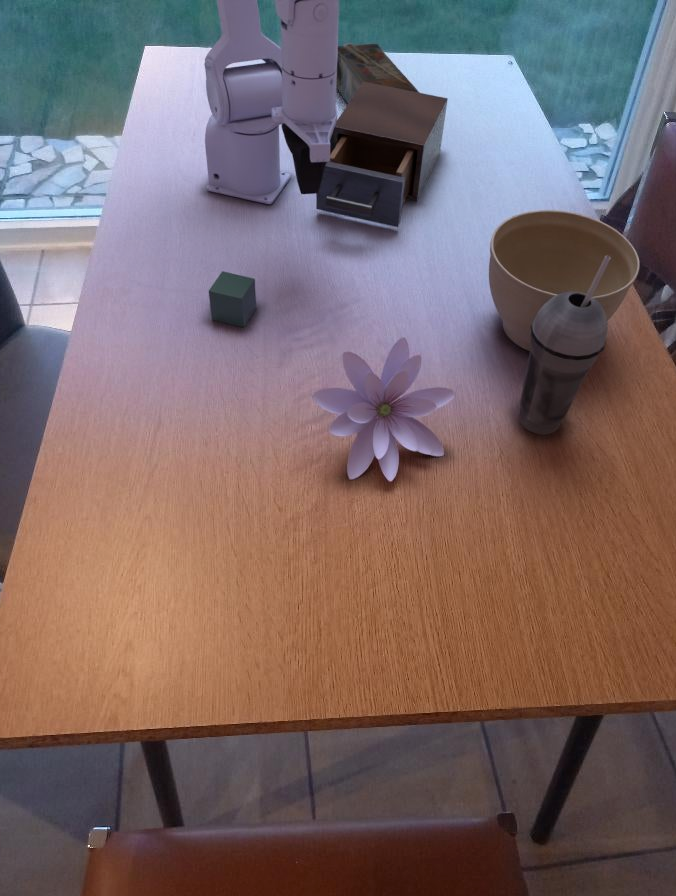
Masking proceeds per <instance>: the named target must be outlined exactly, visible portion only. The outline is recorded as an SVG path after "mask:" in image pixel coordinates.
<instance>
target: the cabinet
mask: <svg viewBox="0 0 676 896" xmlns="http://www.w3.org/2000/svg"><path fill="white" fill-rule="evenodd" d="M418 92H419V91H418ZM418 92H413V91H408V90H403V89H398V88H393V87H388V86H383V85H378V84H373V83H368V82H363V83H362V85H361V86H360V87H359V89H358V90H357V92H356V93H355V95H354V96H353V98H352V99H351V101H350V102H349V104H348V103H347V105H346V106H345V108H344V109H343V111H342V113H341V114H340V115H339V117H337V122H336V125H335V127H334V132H333V133H335V136H336V138H337V143H338V142H339V140H340V139H341V137H342V136H343V134H345V135H349V136H354V137H359V138H364V139H369V140H373V141H378V142H383V143H388V144H393V145H397V146H402V147H407V148H412V149H417V150H418V151H417V159H416V167H415V176H414V182H413V185H412V187H411V189H410V191H409V193H408V195H407V197H406V199H405V201H409V202H416V203H418V202H419V199H420V196H421V195H422V193H423V190H424V188H425V186H426V184H427V182H428V180H429V178H430V176H431V173H432V171H433V169H434V167H435V165H436V163H437V160H438V159H439V157H440V154H441V149H442V142H443V136H444V135H443V134H444V127H445V120H446V113H447V106H448V97H444V96H437V95H433V94H429V93H423V92H420V93H418ZM336 145H337V144H336Z"/></svg>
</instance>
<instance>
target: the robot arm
mask: <svg viewBox="0 0 676 896" xmlns="http://www.w3.org/2000/svg"><path fill="white" fill-rule="evenodd" d="M216 7H217V12H218V17H219V24H220V31H221V36H220V38H219V39H218V40H217V41H216V43H215V44H214V45H213V46H212V48H211V49H210V50H209V51H208V52H207V53H206V56H205V58H204V64H203V65H204V71H205V72H204V73H205V89H206V90H205V91H206V97H207V102H208V106H209V109H210V112H211V115H210V117H209V119H208V120H207V123H206V127H205V133H204V148H205V158H206V167H207V177H208V184H207V186H206V189H207V191H208V192H212V193H216V194H221V195H225V196H230V197H235V198H239V199H244V200H248V201H253V202H257V203H261V204H266V205H272V204H274V202H275V201H276V199H277V197H278V196H279V195H280V193H281V191H282V190H283V189H284V187H285V185H287V183H288V182H289V180H290V179H291V174H290V173H288V172H284V171H281V156H280V154H281V151H280V150H281V149H280V126H281V130H282V134H283V137H284V141H285V143H286V146H287V147H288V150H289V151H290V153H291V156H292V161H293V165H294V172H295V177H296V182H297V186H298V189H299V192H300V194H301V195H314V194H316V195H317V193H318V192H319V189H320V185H321V181H322V177H323V173H324V169H325V166H326V163H327V162H329V161H330V155H331V153H332V152H333V150H334V149H335V147H336V144H337V138H336V136H335V133H333V132H334V127H335V125H336V122H337V120H338V109H337V108H336V107H337V88H336V82H337V54H338V46H339V19H340V0H274V7H275V12H276V15H277V16H278V17H279V18H280V42H281V43H280V46H279V45H278V44H276V43H275V42H274V41H273V40H271V39H270V38H268V37H267V36H266V35H265V34H263V32H262V25H261V19H260V12H259V11H260V10H259V6H258V0H216ZM259 60H262V61H263V62H261V63H255V64H246V65H238V66H232V67H228V66H229V65H232V64H238V63H244V62H251V61H252V62H253V61H259Z"/></svg>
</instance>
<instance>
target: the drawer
mask: <svg viewBox="0 0 676 896" xmlns="http://www.w3.org/2000/svg"><path fill="white" fill-rule="evenodd" d="M417 151H418V150H417V149H412V148H407V147H402V146H397V145H393V144H388V143H383V142H378V141H373V140H369V139H364V138H359V137H354V136H349V135H345V134H343V136H342V137H341V139H340V140H339V142H338V143H337V145H336V147H335V149H334V150H333V152H332V153H331V155H330V161H329V162H327V163H326V166H325V169H324V173H323V177H322V181H321V185H320V189H319V192H318V193H317V194H316V197H315V198H316V199H315V201H316V202H315V203H316V204H315V206H316V207H315V208H316V210H319V211H324V212H328V213H333V214H336V215H340V216H341V215H342V216H346V217H350V218H355V219H360V220H363V221H368V222H373V223H376V224H381V225H382V224H383V225H386V226H391V227H395V228H399V226H400V224H401V220H402V219H401V218H402V210H403V204H404V203H405V201H406V200H405V199H406V197H407V195H408V193H409V191H410V189H411V187H412V185H413V182H414V176H415V167H416V159H417Z"/></svg>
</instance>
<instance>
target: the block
mask: <svg viewBox="0 0 676 896" xmlns="http://www.w3.org/2000/svg"><path fill="white" fill-rule="evenodd" d="M208 298H209V307H210V308H209V309H210V314H211V315H210V316H211V320H212V321H216V322H220V323H224V324H227V325H233V326H236V327H241V328H245V327H246V325H247V323H248V322H249V321H250V318H251V317H252V315H253V314H254V312H255V310H256V309H257V292H256V278H253V277H249V276H244V275H241V274H236V273H232V272H227V271H224V270H222V271H221V272H220V273H219V275H218V277H217V278H216V279H215V280H214V282H213V284H212V285H211V286H210V287H209V289H208Z"/></svg>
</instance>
